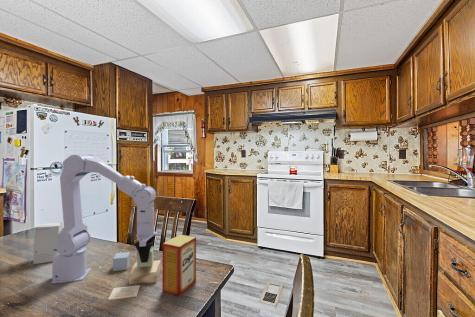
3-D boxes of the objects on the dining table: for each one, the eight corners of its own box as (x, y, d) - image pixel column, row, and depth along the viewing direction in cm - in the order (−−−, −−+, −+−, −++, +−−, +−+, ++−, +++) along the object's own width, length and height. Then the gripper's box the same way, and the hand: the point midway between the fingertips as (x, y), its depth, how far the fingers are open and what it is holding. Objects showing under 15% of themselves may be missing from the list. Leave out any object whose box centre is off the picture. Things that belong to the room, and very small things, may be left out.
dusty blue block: (112, 271, 87) (112, 258, 87) (116, 265, 92) (116, 253, 92) (127, 270, 88) (127, 257, 88) (130, 264, 93) (130, 252, 93)
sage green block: (136, 267, 81) (136, 253, 81) (139, 260, 86) (139, 247, 85) (152, 265, 82) (151, 251, 82) (153, 259, 87) (153, 246, 87)
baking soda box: (180, 277, 84) (180, 233, 83) (195, 281, 81) (196, 235, 81) (162, 291, 75) (162, 242, 75) (179, 296, 72) (179, 245, 72)
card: (108, 300, 70) (108, 299, 70) (113, 289, 76) (113, 287, 76) (136, 297, 72) (136, 295, 72) (140, 286, 78) (139, 284, 78)
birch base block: (128, 285, 79) (128, 274, 79) (136, 272, 88) (136, 261, 88) (156, 283, 80) (156, 272, 80) (160, 270, 89) (160, 260, 89)
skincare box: (33, 264, 92) (32, 227, 92) (39, 258, 98) (38, 223, 97) (58, 261, 95) (58, 225, 95) (63, 255, 101) (63, 221, 101)
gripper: (155, 226, 77) (155, 266, 78) (159, 215, 91) (159, 249, 92) (132, 228, 76) (132, 269, 76) (140, 216, 90) (140, 251, 90)
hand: (145, 258), depth 84 cm, fingers closed on sage green block, 5 cm apart
